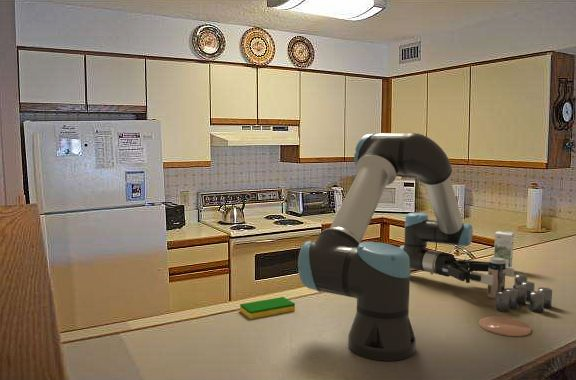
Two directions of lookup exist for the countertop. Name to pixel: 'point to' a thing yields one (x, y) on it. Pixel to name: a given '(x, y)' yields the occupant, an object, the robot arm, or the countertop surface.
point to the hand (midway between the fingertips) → (503, 276)
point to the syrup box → (504, 246)
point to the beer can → (496, 276)
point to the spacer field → (523, 296)
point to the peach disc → (505, 326)
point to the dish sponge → (267, 307)
